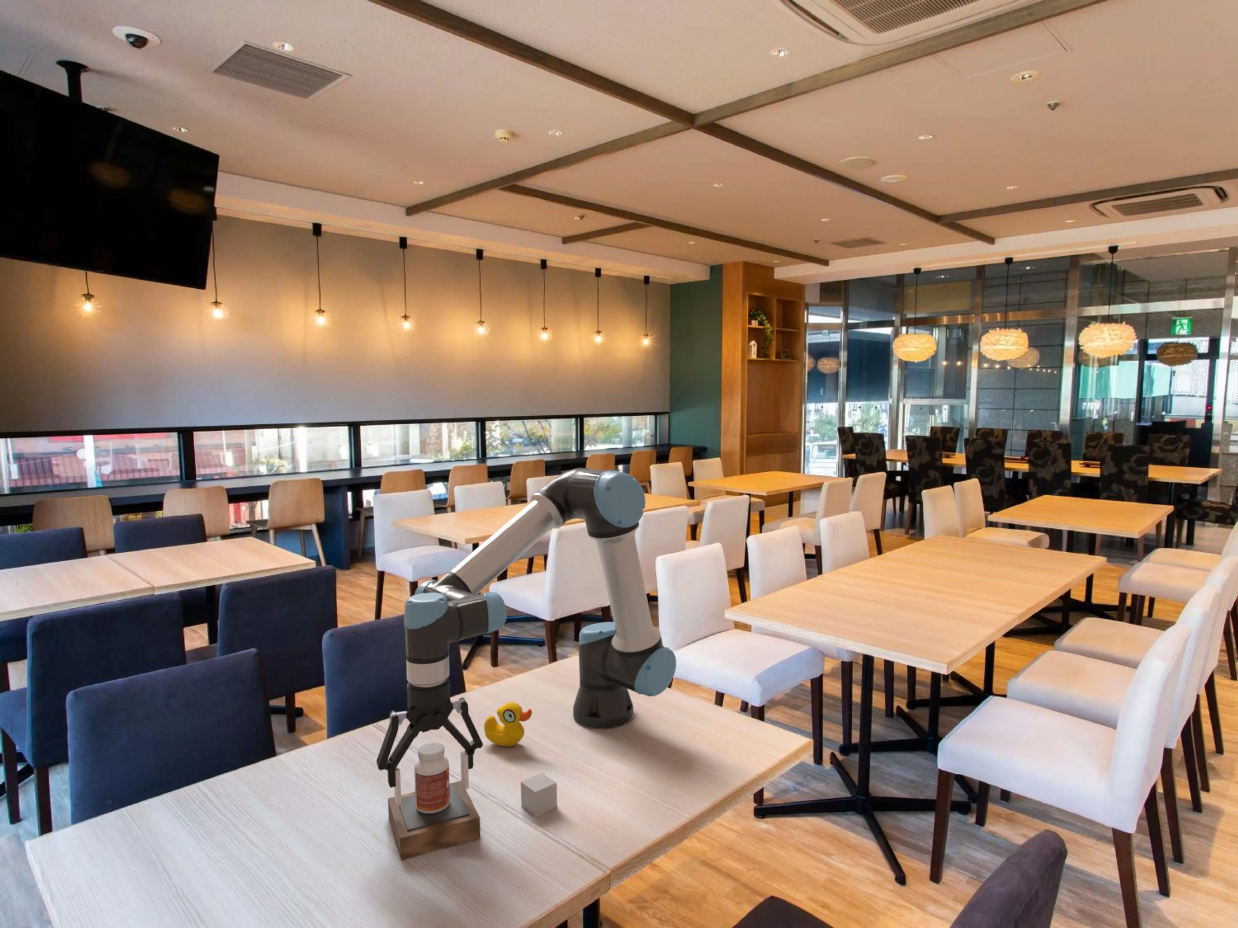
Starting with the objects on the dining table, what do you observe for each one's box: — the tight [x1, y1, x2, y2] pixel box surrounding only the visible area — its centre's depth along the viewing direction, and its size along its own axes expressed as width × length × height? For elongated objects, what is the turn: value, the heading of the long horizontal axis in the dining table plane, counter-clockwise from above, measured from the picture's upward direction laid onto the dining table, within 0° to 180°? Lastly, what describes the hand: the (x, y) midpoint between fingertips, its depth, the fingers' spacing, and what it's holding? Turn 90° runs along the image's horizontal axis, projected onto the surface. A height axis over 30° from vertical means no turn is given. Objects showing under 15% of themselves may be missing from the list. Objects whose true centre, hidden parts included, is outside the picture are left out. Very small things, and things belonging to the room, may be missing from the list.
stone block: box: [520, 772, 558, 817], centre depth 140 cm, size 5×5×5 cm
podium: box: [387, 780, 481, 861], centre depth 133 cm, size 14×14×4 cm
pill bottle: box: [413, 742, 450, 814], centre depth 133 cm, size 6×6×11 cm
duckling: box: [483, 701, 533, 748], centre depth 165 cm, size 11×5×10 cm, turn 79°
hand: (432, 793), depth 133 cm, fingers open, 11 cm apart
